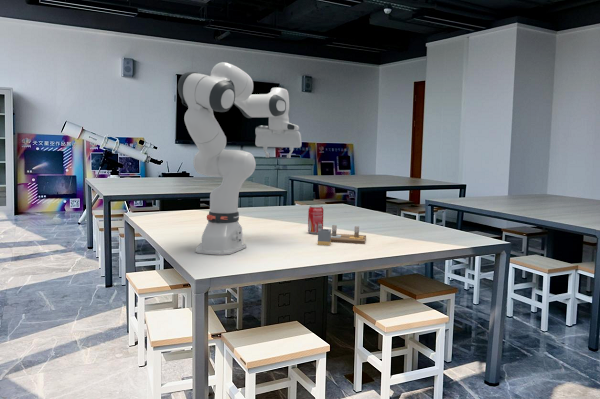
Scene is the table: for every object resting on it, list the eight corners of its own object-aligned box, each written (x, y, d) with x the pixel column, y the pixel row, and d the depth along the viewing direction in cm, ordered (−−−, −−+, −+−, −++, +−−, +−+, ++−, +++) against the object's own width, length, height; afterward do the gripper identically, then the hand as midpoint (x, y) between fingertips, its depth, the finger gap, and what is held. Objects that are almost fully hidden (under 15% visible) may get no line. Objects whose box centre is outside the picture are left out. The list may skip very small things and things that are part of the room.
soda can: (325, 233, 237) (326, 206, 235) (315, 235, 232) (316, 207, 230) (314, 231, 242) (315, 204, 240) (304, 232, 237) (305, 205, 235)
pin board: (364, 244, 214) (365, 229, 214) (323, 241, 217) (323, 227, 216) (365, 238, 228) (366, 224, 227) (326, 235, 231) (327, 222, 230)
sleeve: (329, 245, 209) (329, 231, 209) (317, 244, 210) (318, 230, 209) (330, 243, 214) (331, 229, 213) (319, 242, 215) (319, 228, 214)
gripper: (253, 125, 216) (253, 157, 218) (300, 126, 213) (299, 158, 215) (257, 125, 222) (256, 156, 224) (302, 126, 220) (301, 158, 221)
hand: (278, 157), depth 219 cm, fingers open, 8 cm apart
